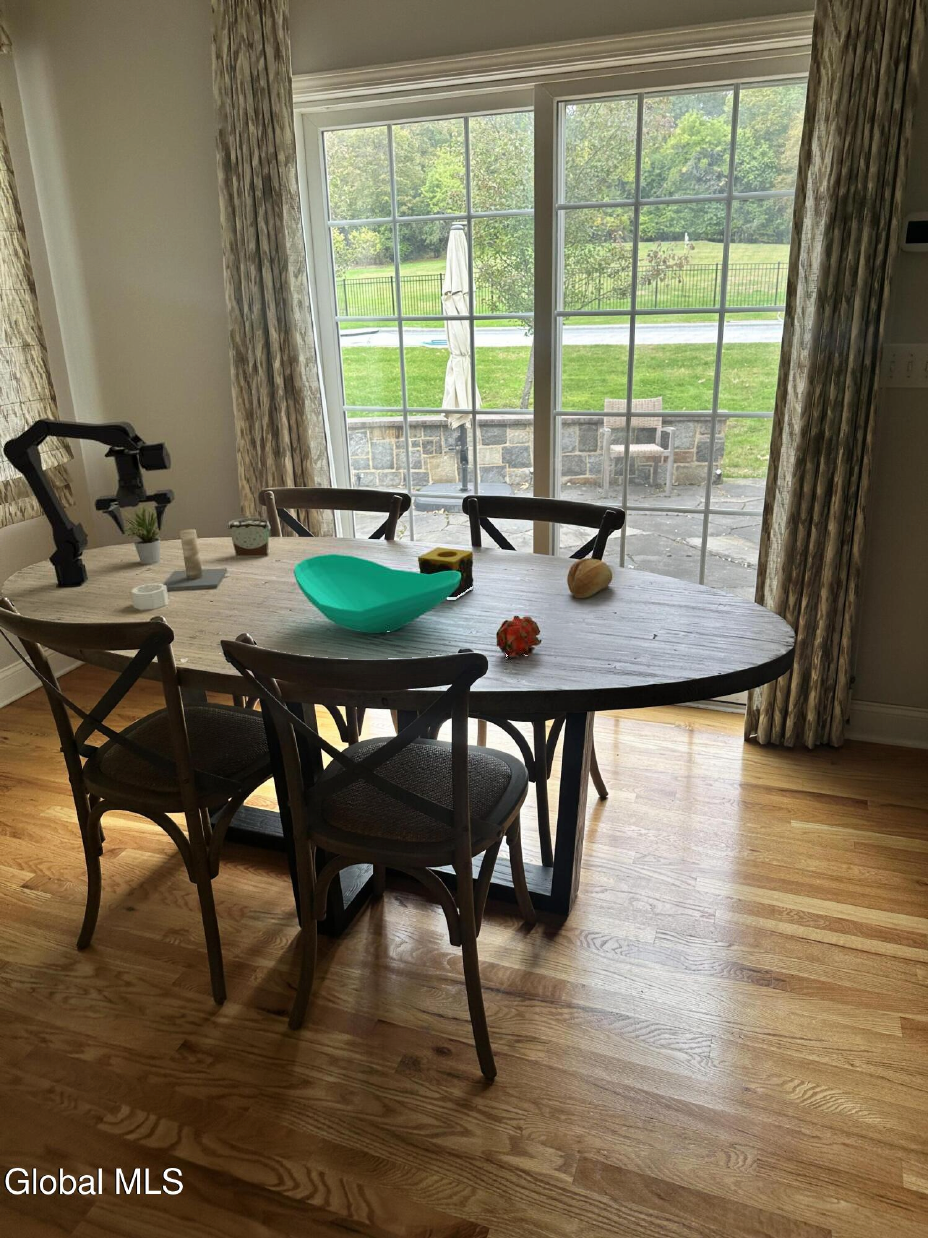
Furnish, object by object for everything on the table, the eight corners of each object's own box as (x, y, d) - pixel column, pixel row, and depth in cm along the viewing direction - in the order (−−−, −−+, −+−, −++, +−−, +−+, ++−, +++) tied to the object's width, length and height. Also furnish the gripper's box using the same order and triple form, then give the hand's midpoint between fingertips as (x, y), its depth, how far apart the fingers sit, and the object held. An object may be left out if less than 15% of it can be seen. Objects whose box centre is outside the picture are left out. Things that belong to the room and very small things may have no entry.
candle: (418, 596, 208) (416, 557, 204) (438, 584, 216) (436, 546, 212) (455, 602, 203) (453, 561, 200) (474, 589, 211) (473, 550, 208)
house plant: (120, 558, 248) (110, 502, 242) (170, 551, 253) (161, 496, 248) (124, 571, 236) (114, 513, 230) (176, 563, 241) (167, 506, 235)
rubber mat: (161, 591, 218) (161, 587, 218) (174, 574, 231) (174, 570, 231) (217, 587, 219) (216, 584, 219) (227, 571, 232) (226, 568, 232)
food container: (279, 550, 250) (275, 516, 247) (272, 556, 245) (268, 522, 241) (238, 550, 252) (234, 517, 248) (231, 556, 246) (226, 522, 242)
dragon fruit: (534, 650, 178) (510, 680, 169) (503, 624, 179) (477, 652, 169) (555, 624, 172) (532, 654, 163) (522, 598, 173) (497, 626, 164)
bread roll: (557, 598, 203) (557, 566, 200) (582, 580, 215) (582, 550, 212) (595, 604, 198) (596, 571, 196) (618, 585, 210) (619, 554, 208)
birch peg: (190, 580, 222) (183, 534, 218) (184, 577, 225) (177, 531, 221) (205, 577, 224) (198, 531, 220) (199, 574, 227) (192, 528, 223)
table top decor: (269, 634, 187) (262, 576, 183) (346, 596, 210) (341, 543, 205) (421, 666, 168) (418, 602, 164) (488, 620, 190) (487, 563, 186)
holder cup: (131, 610, 205) (128, 594, 204) (139, 599, 212) (137, 584, 211) (163, 608, 205) (160, 592, 204) (171, 598, 213) (168, 582, 211)
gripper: (82, 482, 209) (96, 543, 215) (160, 475, 211) (172, 536, 217) (95, 474, 220) (108, 532, 225) (169, 467, 221) (180, 525, 227)
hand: (142, 532), depth 223 cm, fingers open, 9 cm apart
